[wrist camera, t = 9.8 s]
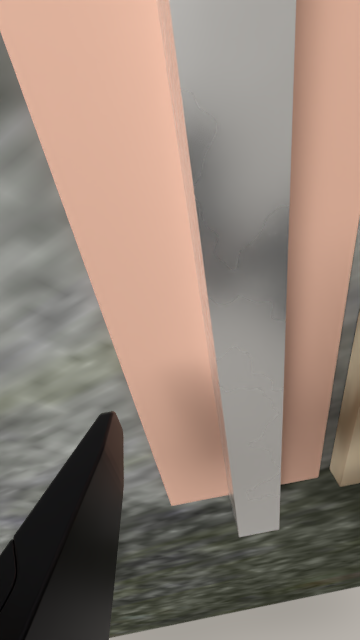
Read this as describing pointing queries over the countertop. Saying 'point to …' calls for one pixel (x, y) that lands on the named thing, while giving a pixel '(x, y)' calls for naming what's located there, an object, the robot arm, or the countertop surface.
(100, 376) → the countertop surface
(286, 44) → the steel rail
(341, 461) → the hook stand
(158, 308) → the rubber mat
